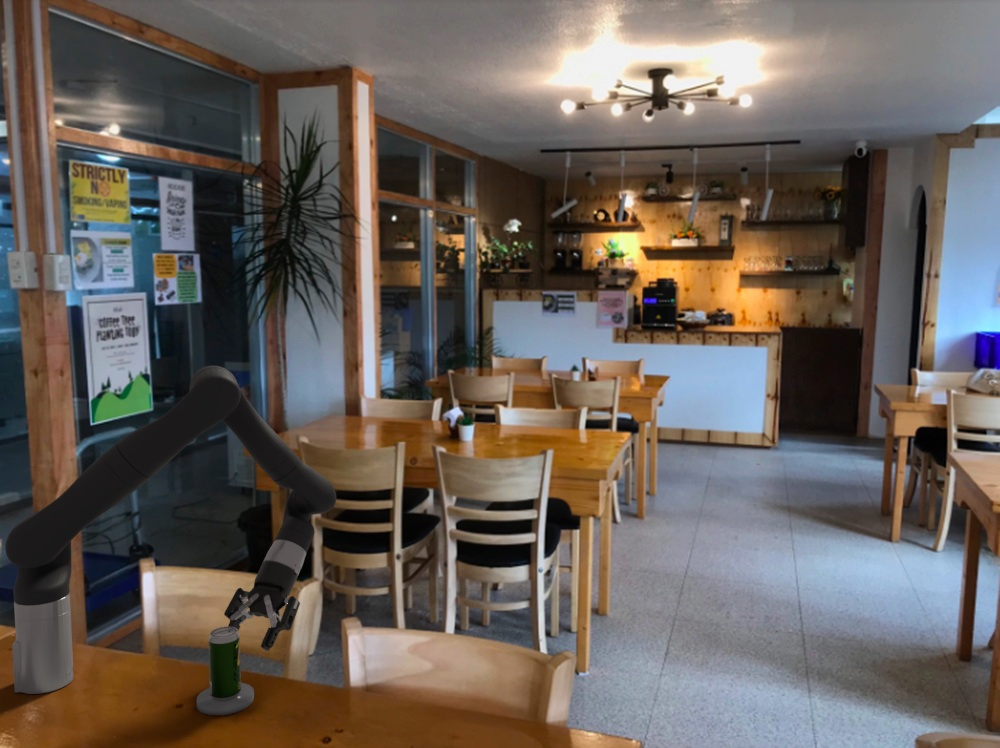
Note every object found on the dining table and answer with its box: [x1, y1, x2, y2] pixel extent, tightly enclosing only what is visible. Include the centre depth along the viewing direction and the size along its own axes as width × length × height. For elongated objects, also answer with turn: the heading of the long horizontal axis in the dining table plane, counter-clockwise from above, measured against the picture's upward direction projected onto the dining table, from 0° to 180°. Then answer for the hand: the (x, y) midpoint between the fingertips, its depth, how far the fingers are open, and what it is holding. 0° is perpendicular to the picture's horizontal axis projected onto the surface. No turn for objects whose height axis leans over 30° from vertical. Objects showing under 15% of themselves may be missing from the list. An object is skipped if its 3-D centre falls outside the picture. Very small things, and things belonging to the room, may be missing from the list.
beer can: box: [208, 626, 242, 701], centre depth 144 cm, size 5×5×12 cm
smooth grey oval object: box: [196, 682, 255, 716], centre depth 144 cm, size 10×10×1 cm
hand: (246, 645), depth 149 cm, fingers open, 8 cm apart
